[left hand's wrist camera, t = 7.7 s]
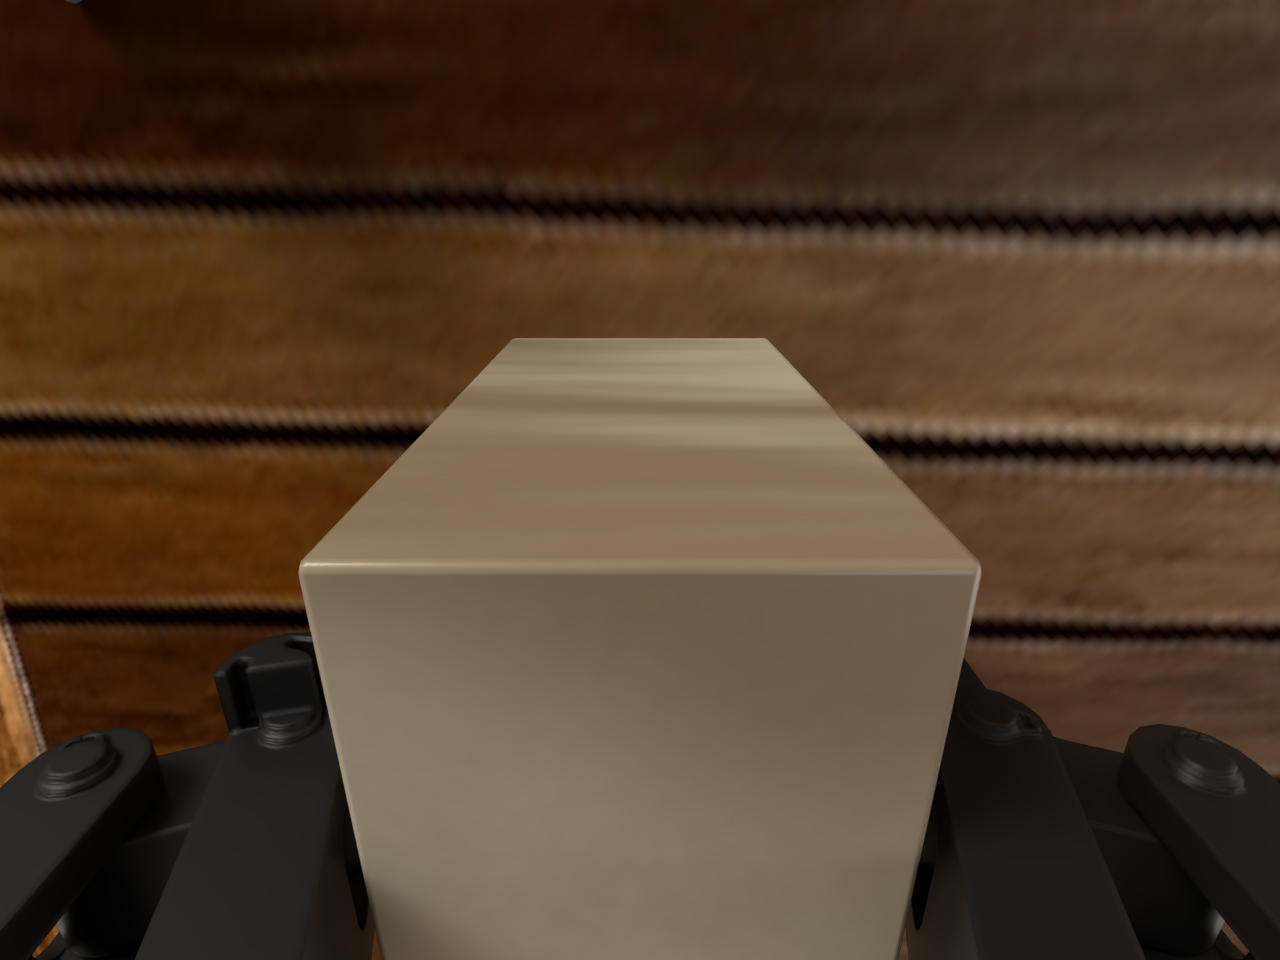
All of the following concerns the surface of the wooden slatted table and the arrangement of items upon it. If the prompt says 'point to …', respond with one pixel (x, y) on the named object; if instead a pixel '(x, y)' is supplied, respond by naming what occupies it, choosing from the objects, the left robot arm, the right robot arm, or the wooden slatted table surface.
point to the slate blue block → (73, 1)
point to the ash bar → (639, 665)
